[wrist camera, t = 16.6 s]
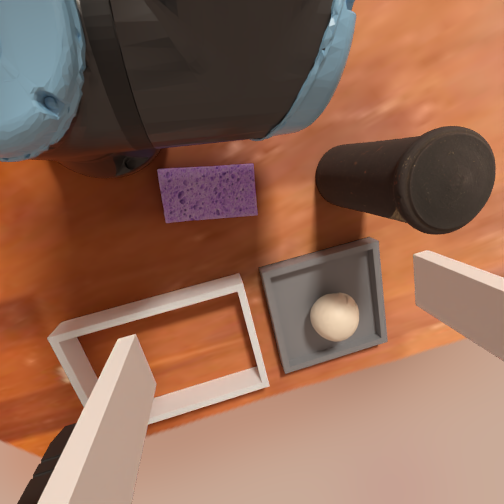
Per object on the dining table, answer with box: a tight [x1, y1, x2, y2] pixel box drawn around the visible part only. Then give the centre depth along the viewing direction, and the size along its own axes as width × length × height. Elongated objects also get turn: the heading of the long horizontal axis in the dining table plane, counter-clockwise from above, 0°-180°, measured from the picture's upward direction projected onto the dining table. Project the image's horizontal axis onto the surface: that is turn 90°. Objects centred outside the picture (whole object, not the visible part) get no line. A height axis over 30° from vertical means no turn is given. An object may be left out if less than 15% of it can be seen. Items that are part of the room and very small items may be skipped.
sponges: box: [157, 163, 258, 223], centre depth 39 cm, size 7×13×2 cm, turn 94°
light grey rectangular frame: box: [47, 273, 269, 425], centre depth 43 cm, size 26×18×4 cm
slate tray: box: [259, 237, 388, 374], centre depth 46 cm, size 18×18×2 cm
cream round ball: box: [310, 292, 359, 342], centre depth 43 cm, size 7×7×7 cm
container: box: [316, 126, 495, 234], centre depth 32 cm, size 9×9×20 cm
